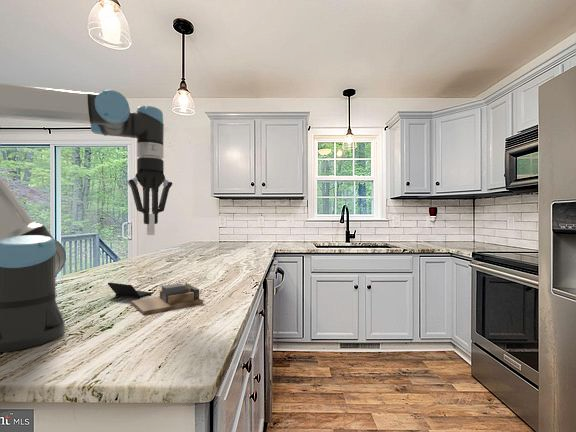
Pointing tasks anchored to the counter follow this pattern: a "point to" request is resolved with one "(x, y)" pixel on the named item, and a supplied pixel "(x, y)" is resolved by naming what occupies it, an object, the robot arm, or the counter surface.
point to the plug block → (172, 290)
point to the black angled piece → (127, 291)
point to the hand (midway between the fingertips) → (150, 234)
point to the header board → (169, 301)
